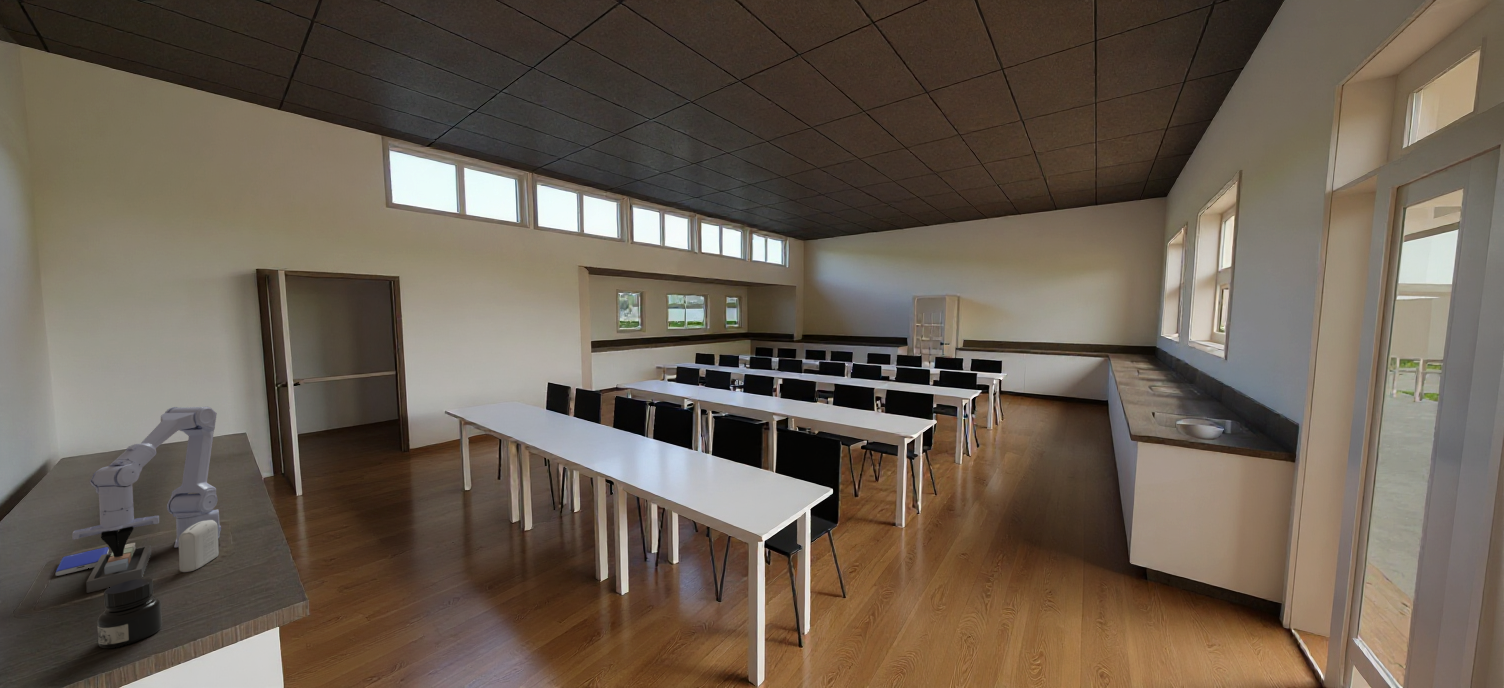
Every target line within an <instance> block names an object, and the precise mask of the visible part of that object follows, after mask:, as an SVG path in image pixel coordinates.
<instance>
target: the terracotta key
mask: <svg viewBox="0 0 1504 688" xmlns="http://www.w3.org/2000/svg"><path fill="white" fill-rule="evenodd" d="M127 558H128V564H129V563H130V561H131V553H127V554H123V556H120V557H114V556H113V557H110V558H109V560H108V562H107V563H109V562H113V561H118V560H122V559H127Z"/></svg>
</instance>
